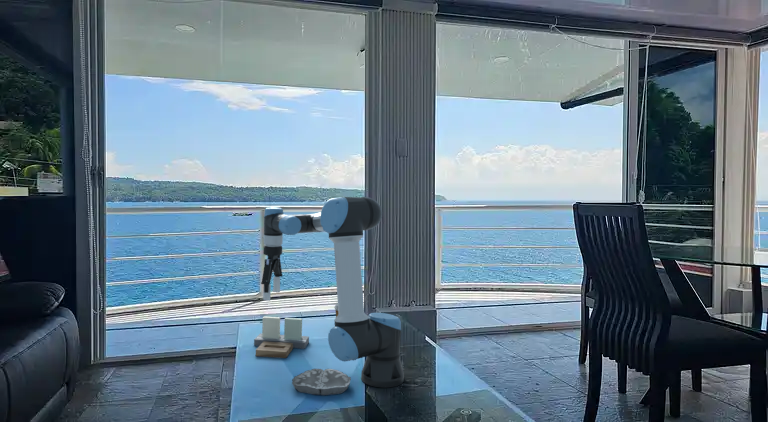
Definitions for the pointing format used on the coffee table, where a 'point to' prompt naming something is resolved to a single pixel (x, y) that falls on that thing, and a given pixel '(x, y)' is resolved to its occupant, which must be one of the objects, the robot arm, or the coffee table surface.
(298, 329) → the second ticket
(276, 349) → the frame
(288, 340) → the grey slotted plate
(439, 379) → the coffee table surface
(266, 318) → the pale green slab
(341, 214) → the robot arm
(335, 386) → the brain slice
